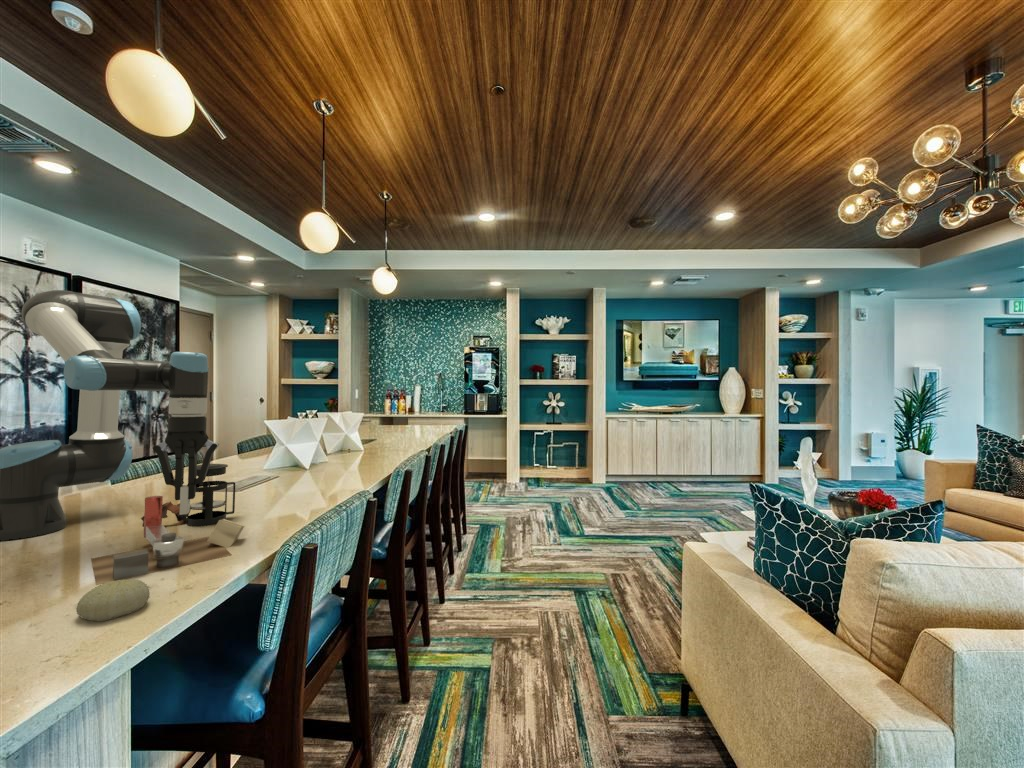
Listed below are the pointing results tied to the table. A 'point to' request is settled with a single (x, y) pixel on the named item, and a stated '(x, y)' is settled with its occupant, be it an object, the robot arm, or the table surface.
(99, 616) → the olive grey stone
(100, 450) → the robot arm
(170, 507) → the broken mug
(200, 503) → the french press
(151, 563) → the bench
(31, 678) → the table surface
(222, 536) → the block
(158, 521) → the lever
